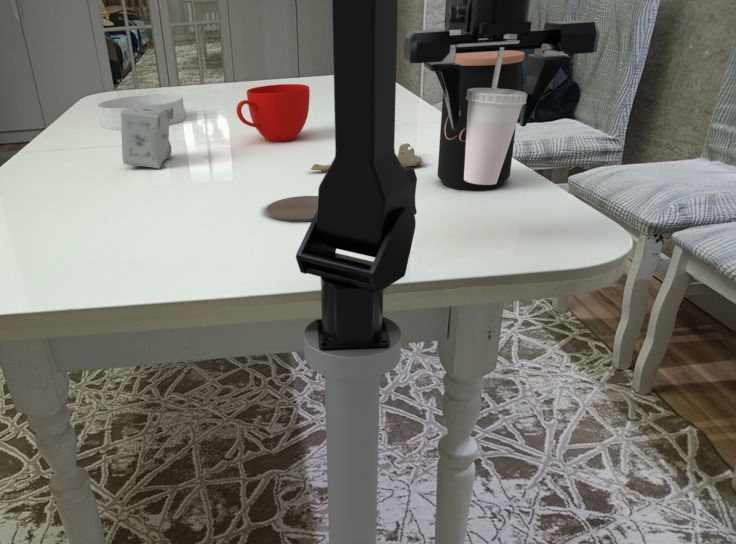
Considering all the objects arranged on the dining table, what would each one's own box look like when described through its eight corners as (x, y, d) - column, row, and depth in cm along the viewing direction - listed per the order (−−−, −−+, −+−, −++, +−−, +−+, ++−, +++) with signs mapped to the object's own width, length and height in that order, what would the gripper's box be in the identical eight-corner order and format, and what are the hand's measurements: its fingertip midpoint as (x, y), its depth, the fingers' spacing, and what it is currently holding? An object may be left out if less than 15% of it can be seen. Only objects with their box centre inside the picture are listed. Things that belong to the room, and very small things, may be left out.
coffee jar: (428, 188, 96) (436, 59, 87) (446, 171, 104) (455, 50, 95) (501, 194, 92) (517, 57, 83) (515, 175, 100) (530, 49, 91)
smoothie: (440, 176, 75) (461, 44, 68) (483, 172, 77) (507, 45, 71) (476, 189, 70) (503, 49, 63) (521, 185, 72) (551, 49, 65)
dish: (91, 121, 171) (87, 102, 168) (169, 110, 179) (166, 91, 177) (114, 133, 153) (110, 111, 151) (198, 120, 162) (196, 99, 159)
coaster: (345, 219, 86) (345, 216, 86) (265, 223, 87) (264, 221, 87) (340, 196, 96) (340, 194, 96) (268, 200, 96) (267, 197, 96)
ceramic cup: (223, 143, 135) (218, 93, 130) (285, 130, 143) (283, 82, 139) (259, 152, 126) (255, 98, 121) (323, 137, 134) (322, 86, 129)
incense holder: (165, 169, 118) (157, 110, 113) (123, 170, 119) (112, 112, 114) (180, 156, 126) (172, 101, 121) (140, 157, 128) (131, 103, 123)
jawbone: (438, 166, 109) (439, 154, 108) (334, 188, 102) (334, 175, 101) (407, 153, 116) (408, 141, 115) (308, 172, 109) (308, 160, 108)
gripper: (572, -40, 70) (550, 111, 77) (400, -28, 71) (395, 119, 78) (615, -44, 60) (585, 128, 67) (414, -30, 61) (407, 137, 69)
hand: (488, 127), depth 71 cm, fingers closed on smoothie, 7 cm apart
